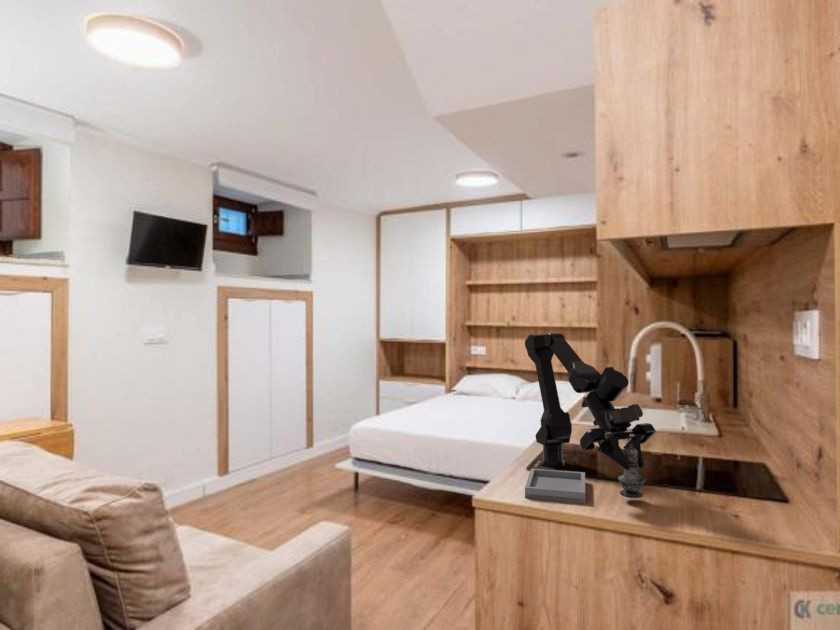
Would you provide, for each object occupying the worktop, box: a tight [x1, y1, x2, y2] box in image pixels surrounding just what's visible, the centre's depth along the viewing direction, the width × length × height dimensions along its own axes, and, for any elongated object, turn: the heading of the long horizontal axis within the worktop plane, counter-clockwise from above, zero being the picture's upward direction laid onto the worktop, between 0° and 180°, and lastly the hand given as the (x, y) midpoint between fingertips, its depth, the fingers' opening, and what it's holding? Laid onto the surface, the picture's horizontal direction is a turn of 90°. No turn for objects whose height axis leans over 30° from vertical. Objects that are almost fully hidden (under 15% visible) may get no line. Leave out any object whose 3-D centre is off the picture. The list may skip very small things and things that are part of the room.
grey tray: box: [524, 468, 586, 504], centre depth 129 cm, size 16×14×2 cm
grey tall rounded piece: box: [617, 444, 646, 499], centre depth 120 cm, size 6×6×12 cm
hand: (635, 468), depth 119 cm, fingers closed on grey tall rounded piece, 4 cm apart
